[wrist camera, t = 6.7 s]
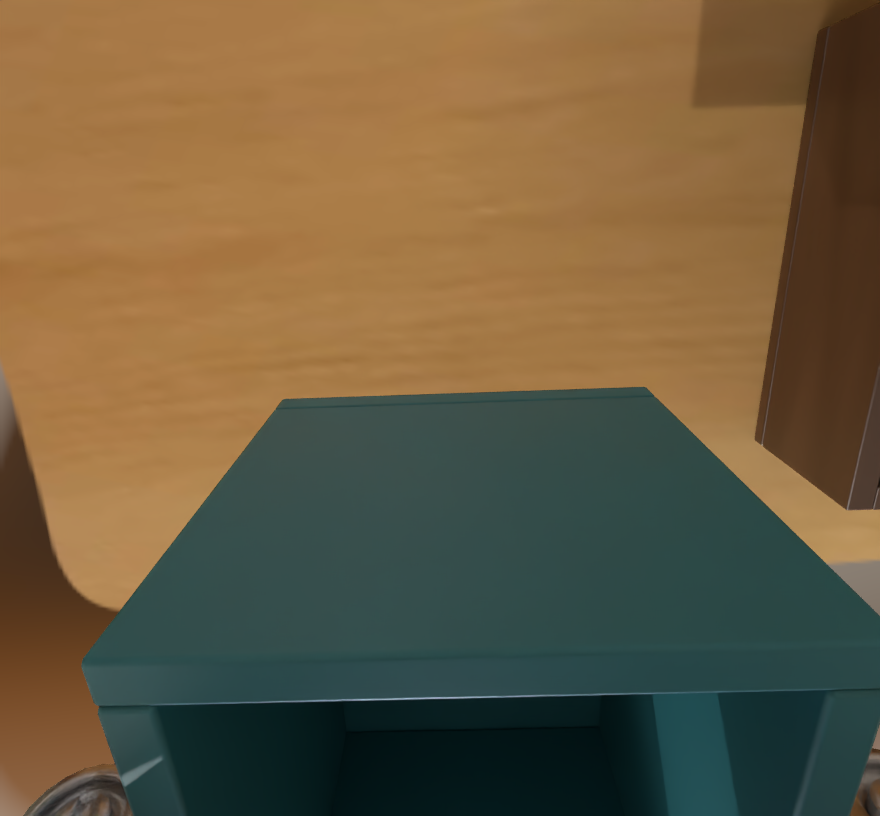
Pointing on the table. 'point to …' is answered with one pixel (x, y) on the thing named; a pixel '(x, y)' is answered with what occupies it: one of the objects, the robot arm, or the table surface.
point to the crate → (832, 280)
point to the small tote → (487, 625)
